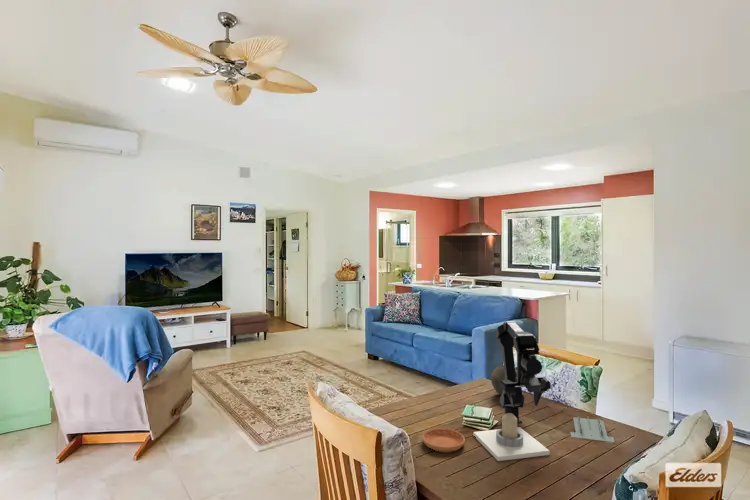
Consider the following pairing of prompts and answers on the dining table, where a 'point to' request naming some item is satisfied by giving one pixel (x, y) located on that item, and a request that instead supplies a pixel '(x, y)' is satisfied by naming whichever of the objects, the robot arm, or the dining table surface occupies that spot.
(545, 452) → the collar plate
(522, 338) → the robot arm
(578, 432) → the metal bracket
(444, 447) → the saucer
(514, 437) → the candle
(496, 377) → the dark olive sphere
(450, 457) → the dining table surface
